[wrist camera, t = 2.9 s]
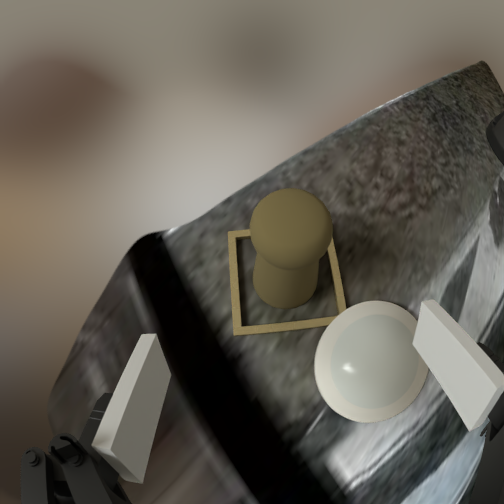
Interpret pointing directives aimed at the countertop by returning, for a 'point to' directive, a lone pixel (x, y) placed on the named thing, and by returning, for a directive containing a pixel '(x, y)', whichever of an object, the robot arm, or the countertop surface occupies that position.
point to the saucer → (369, 362)
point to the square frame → (287, 325)
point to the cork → (289, 246)
